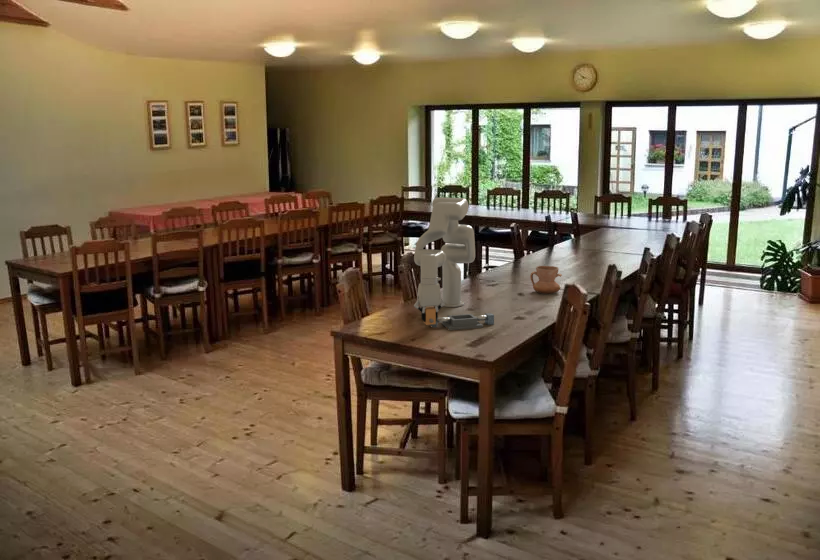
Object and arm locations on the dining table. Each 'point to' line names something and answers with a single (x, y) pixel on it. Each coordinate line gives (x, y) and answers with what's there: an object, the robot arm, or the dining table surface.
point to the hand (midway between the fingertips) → (429, 320)
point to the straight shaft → (486, 318)
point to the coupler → (430, 315)
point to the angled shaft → (441, 321)
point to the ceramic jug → (546, 279)
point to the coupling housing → (462, 322)
